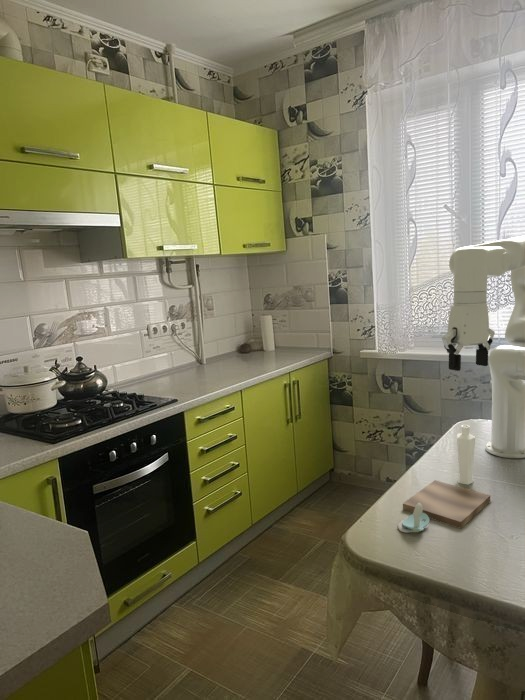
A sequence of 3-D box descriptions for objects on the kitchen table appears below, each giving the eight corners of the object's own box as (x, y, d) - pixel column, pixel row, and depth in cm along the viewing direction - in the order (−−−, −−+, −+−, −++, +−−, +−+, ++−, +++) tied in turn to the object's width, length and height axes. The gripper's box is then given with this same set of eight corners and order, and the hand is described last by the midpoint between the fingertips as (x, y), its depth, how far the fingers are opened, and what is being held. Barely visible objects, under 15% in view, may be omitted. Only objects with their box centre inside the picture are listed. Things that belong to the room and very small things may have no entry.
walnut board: (435, 485, 132) (435, 480, 132) (490, 501, 122) (490, 495, 122) (402, 509, 121) (402, 503, 121) (460, 528, 111) (460, 522, 111)
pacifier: (393, 532, 112) (420, 539, 108) (391, 505, 111) (418, 511, 107) (405, 518, 117) (432, 524, 114) (404, 492, 116) (431, 497, 113)
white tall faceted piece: (475, 485, 130) (476, 429, 128) (457, 484, 132) (457, 428, 129) (474, 478, 135) (474, 423, 132) (456, 477, 136) (456, 422, 134)
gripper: (481, 296, 133) (479, 361, 135) (432, 300, 125) (431, 369, 127) (507, 297, 126) (504, 365, 129) (457, 301, 118) (455, 374, 121)
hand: (468, 367), depth 128 cm, fingers open, 9 cm apart
